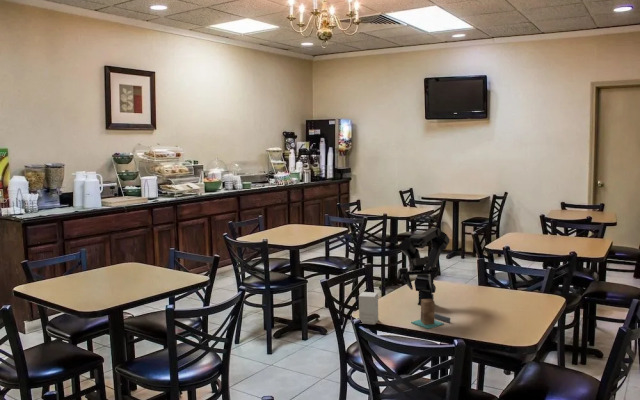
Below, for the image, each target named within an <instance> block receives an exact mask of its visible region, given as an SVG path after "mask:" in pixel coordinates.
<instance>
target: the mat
mask: <svg viewBox="0 0 640 400" xmlns="http://www.w3.org/2000/svg"><path fill="white" fill-rule="evenodd" d="M410 324H413V325H415V326H418V327H420V328H423V329H427V330H430V329H434V328H436V327H440V326H443V325H444V324H445V322H442V321H439V320H437V319H434V324H427V325H424V324H423V323H422V322H421V318H420V319H418V320H414V321H411V322H410Z"/></svg>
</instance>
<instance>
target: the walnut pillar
mask: <svg viewBox="0 0 640 400" xmlns="http://www.w3.org/2000/svg"><path fill="white" fill-rule="evenodd" d="M434 313H435V301H433V300H432V299H421V305H420V319H421V322H422V323H423V324H424V325H427V324H434V320H435V318H434Z"/></svg>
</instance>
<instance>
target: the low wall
mask: <svg viewBox="0 0 640 400" xmlns="http://www.w3.org/2000/svg"><path fill="white" fill-rule="evenodd" d="M434 319H435V320H438V321H439V320H440V321H441V322H442V321H443V322H444V323H445V322H446V323H448V324H449V323H451V317H449V316H446V315H443V314H439V313H435V312H434Z"/></svg>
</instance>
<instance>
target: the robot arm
mask: <svg viewBox="0 0 640 400" xmlns="http://www.w3.org/2000/svg"><path fill="white" fill-rule="evenodd" d="M428 242H430V243H431V250H430V252H429V255H428V256H426V255H425V256H424V257H421V255H420V251H419V249H424V248H425V247H426V246H427V244H428ZM449 244H450V237H449V236H448V234H447V233H446V232H443V231H442V230H441V228H439V227H430V228H428V230H425V231H424V232H422V233H421V234H414V235H413V234H412V235H411V236H410V237H409V238H408V237H405V238H404V239H403V240H402V241H400V243H399V245H398V248H399V250H400V251H401V252H402V253H403V255H405V256H406V257H407V260H408V266H409V268H410V270H409V269H408V267H400V268H398V271H397V273H396V277H397V280H400V281H401V282H403V283H405V284H406V286H407V287H408V288H409V289H410V290H411V291H413V289H414V288H413V284H412V280H411V277H410V276H416V277H415V279H414V287H415V289H414V290H415V291H416V292H418V302H417V305H420V306H421V299H432V300H433V301H434V297H435V296H434V293H436V289H437V287H436V285H435V283H434V279H436V278H437V277H438V275H439V273H440V268H439V267H438V266H437V264H438V262H439V259H440V256H441V254H442V252H443V251H444V250H447V247H448V245H449ZM434 302H435V301H434Z"/></svg>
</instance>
